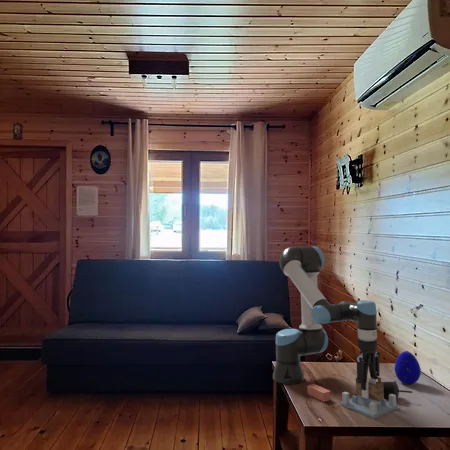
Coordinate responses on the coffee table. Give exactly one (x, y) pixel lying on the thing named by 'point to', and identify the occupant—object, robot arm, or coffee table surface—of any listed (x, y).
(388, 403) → the jig
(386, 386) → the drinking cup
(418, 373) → the ornament
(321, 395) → the red rectangular block
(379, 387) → the brown blocky piece
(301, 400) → the coffee table surface
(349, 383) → the coffee table surface
